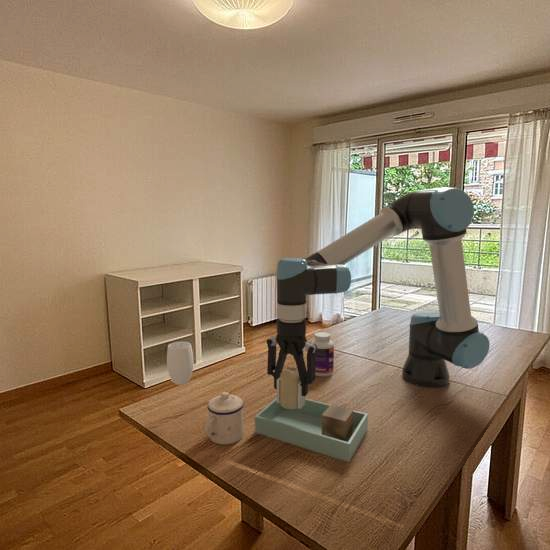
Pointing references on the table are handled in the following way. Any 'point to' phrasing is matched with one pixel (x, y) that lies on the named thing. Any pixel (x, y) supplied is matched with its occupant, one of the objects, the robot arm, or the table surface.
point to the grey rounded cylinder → (180, 362)
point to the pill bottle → (323, 354)
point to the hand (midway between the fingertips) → (290, 403)
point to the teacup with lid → (225, 419)
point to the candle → (289, 388)
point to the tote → (309, 428)
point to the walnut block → (337, 423)
